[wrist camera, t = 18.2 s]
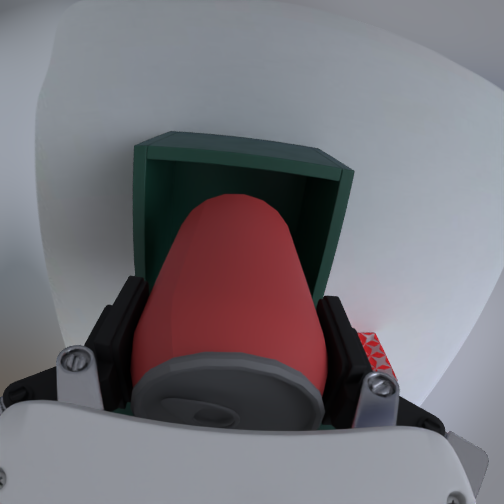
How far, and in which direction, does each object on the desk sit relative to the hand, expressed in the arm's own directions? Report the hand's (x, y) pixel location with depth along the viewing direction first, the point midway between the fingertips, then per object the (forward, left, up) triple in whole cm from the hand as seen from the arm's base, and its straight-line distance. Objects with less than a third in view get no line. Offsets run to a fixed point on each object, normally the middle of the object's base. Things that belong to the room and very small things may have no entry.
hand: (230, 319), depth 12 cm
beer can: (0, 0, -7) cm, 7 cm away
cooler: (+1, 0, -17) cm, 17 cm away
